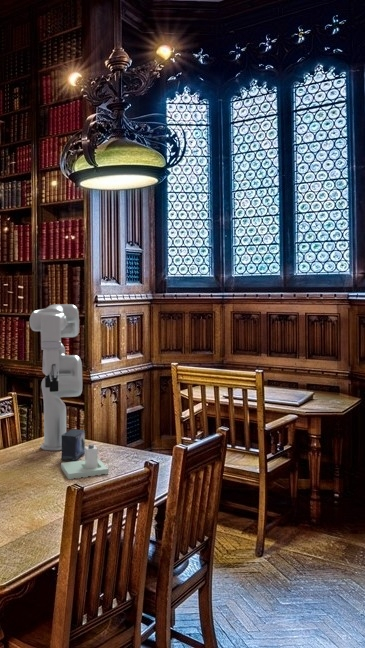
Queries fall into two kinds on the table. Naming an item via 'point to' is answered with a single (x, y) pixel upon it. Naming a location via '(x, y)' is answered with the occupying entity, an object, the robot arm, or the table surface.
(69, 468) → the plate
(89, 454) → the block
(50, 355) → the robot arm
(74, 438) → the small box
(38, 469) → the table surface
